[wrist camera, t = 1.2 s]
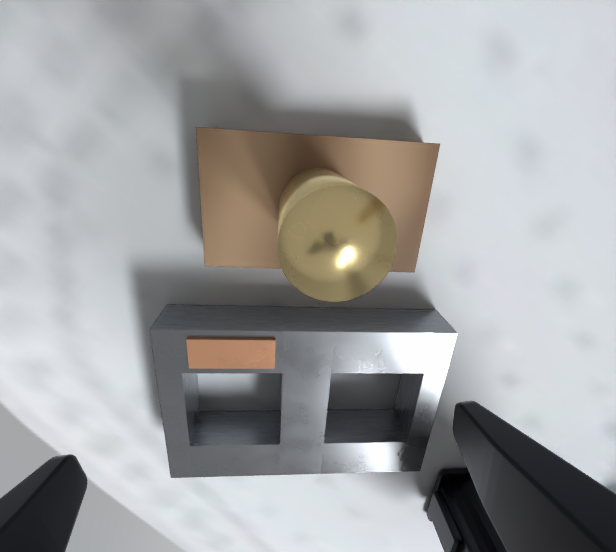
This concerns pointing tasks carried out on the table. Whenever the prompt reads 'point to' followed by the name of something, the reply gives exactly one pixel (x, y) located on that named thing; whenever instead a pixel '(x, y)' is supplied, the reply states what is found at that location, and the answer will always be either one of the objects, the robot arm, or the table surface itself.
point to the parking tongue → (285, 165)
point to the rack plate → (298, 387)
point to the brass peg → (333, 236)
